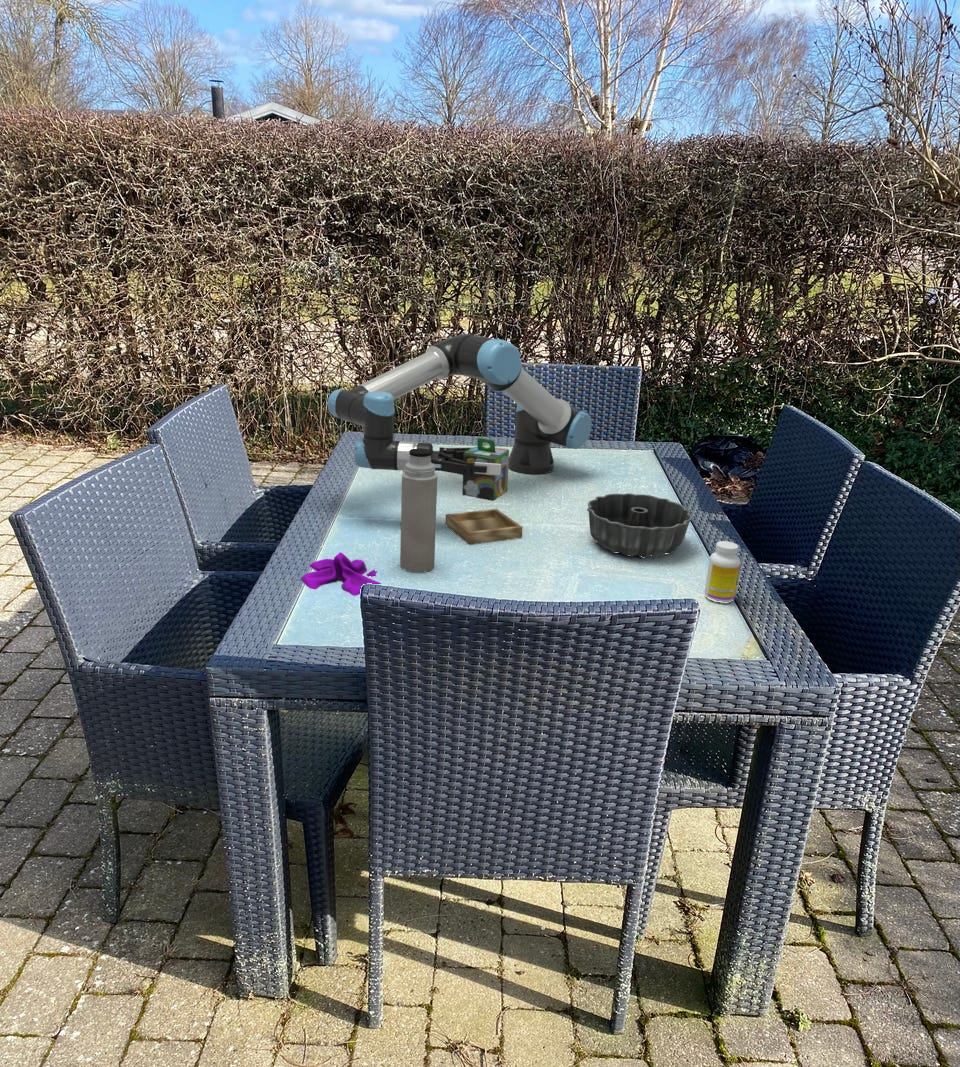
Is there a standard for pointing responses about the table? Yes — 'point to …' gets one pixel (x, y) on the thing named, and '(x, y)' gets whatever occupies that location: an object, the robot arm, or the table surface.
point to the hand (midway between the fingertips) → (502, 463)
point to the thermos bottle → (418, 512)
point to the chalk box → (485, 483)
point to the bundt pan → (638, 523)
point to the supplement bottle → (723, 572)
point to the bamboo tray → (483, 526)
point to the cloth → (339, 574)
